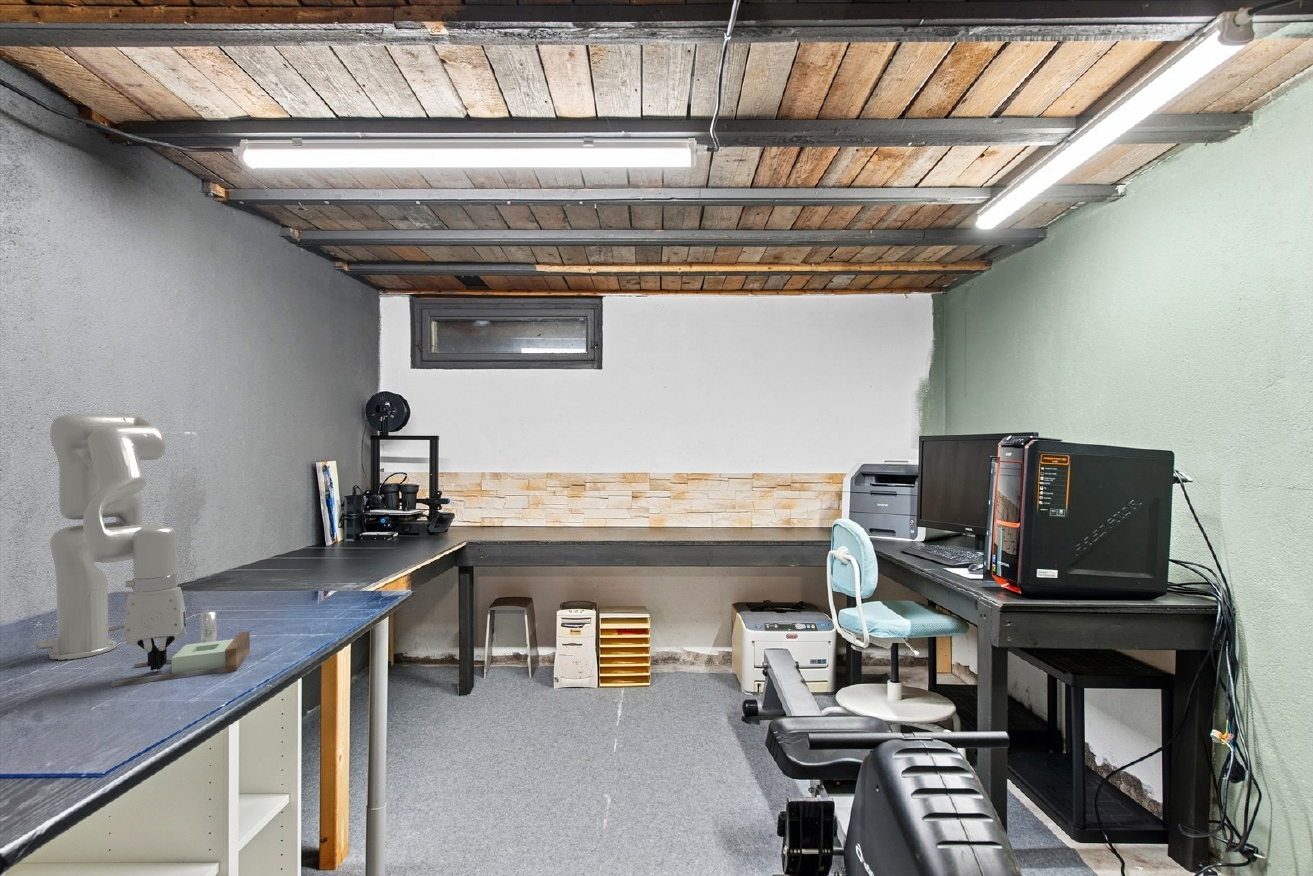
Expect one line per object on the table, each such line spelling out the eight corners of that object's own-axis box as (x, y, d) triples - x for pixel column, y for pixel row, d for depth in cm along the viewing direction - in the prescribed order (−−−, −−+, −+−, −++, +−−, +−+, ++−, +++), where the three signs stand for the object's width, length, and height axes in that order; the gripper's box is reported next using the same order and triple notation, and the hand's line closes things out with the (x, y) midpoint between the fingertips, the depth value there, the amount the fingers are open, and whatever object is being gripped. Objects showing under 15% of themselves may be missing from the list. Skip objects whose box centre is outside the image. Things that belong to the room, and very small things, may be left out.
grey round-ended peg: (199, 656, 156) (198, 615, 156) (203, 652, 159) (202, 611, 159) (215, 654, 157) (214, 613, 157) (218, 651, 160) (217, 610, 160)
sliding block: (171, 676, 138) (171, 657, 138) (186, 662, 148) (185, 644, 148) (226, 669, 142) (226, 651, 142) (237, 655, 151) (236, 638, 151)
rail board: (86, 697, 131) (85, 666, 131) (114, 674, 144) (113, 646, 144) (236, 676, 141) (235, 648, 141) (250, 657, 154) (249, 631, 154)
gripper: (106, 591, 135) (108, 679, 135) (192, 583, 141) (193, 668, 141) (119, 584, 142) (121, 668, 142) (201, 577, 148) (202, 657, 148)
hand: (157, 668), depth 142 cm, fingers closed
